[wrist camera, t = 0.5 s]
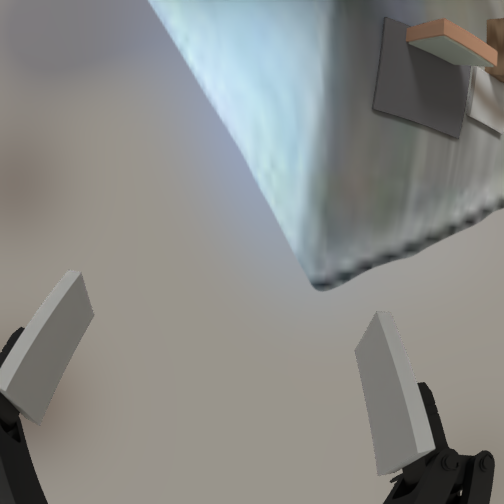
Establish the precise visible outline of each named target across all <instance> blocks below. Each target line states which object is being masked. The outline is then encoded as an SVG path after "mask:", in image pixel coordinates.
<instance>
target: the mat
mask: <svg viewBox="0 0 504 504" xmlns="http://www.w3.org/2000/svg"><path fill="white" fill-rule="evenodd" d="M409 27H410V26H408V25H406V24H403V23H401V22H398V21H395V20H393V19H390V18H387V17H385V18H384V24H383V34H382V44H381V52H380V60H379V68H378V75H377V81H376V88H375V94H374V100H373V106H372V109H376V110H379V111H383V112H386V113H389V114H393V115H396V116H399V117H402V118H405V119H408V120H411V121H414V122H417V123H420V124H422V125H425V126H428V127H431V128H433V129H436V130H438V131H441V132H443V133H446V134H448V135H451V136H453V137H455V138H458V139H459V135H460V131H461V126H462V121H463V116H464V111H465V105H466V99H467V93H468V86H469V78H470V69H471V66H470V65H453V64H451V63H449V62H447V61H445V60H443V59H441V58H439V57H437V56H435V55H433V54H431V53H429V52H427V51H424V50H422V49H420V48H417V47H415V46H413V45H410V44H409V42H406V33H407V28H409Z"/></svg>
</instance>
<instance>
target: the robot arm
mask: <svg viewBox="0 0 504 504" xmlns="http://www.w3.org/2000/svg"><path fill="white" fill-rule="evenodd" d="M93 317H94V313H93V310H92V307H91V304H90V300H89V297H88V294H87V290H86V287H85V283H84V280H83V276H82V273H81V272H78V271H73V270H68V271H67V272H66V274H65V275H64V276H63V277H62V279H61V280H60V281H59V282H58V284H57V285H56V286H55V288H54V289H53V290H52V291H51V293H50V294H49V295H48V297H47V298H46V299H45V301H44V302H43V304H42V305H41V306H40V308H39V309H38V311H37V312H36V313H35V315H34V316H33V318H32V319H31V320H30V322H29V324H28V325H27V326H26V328H22V327H20V328H19V329H18V330H17V331H15V332H14V333H13V334H12V335H11V337H10V338H9V340H8V341H7V344H6V345H5V346H4V348H3V349H2V352H1V353H0V504H48V503H47V500H46V498H45V496H44V493H43V491H42V489H41V486H40V483H39V480H38V478H37V475H36V472H35V470H34V466H33V463H32V460H31V457H30V454H29V450H28V447H27V444H26V440H25V436H24V432H23V428H22V424H21V420H20V418H19V413H21V414H22V415H23V416H24V417H25V418H26V419H28V420H30V421H32V422H34V423H36V424H37V425H39V426H40V424H41V422H42V419H43V417H44V415H45V412H46V410H47V408H48V405H49V403H50V401H51V399H52V396H53V394H54V392H55V390H56V388H57V385H58V383H59V381H60V379H61V377H62V375H63V373H64V371H65V369H66V367H67V365H68V363H69V361H70V359H71V357H72V355H73V353H74V351H75V350H76V348H77V346H78V344H79V342H80V340H81V338H82V336H83V335H84V333H85V331H86V329H87V327H88V326H89V324H90V322H91V320H92V319H93ZM355 354H356V359H357V363H358V367H359V372H360V377H361V381H362V386H363V390H364V396H365V401H366V406H367V411H368V416H369V422H370V427H371V433H372V439H373V446H374V452H375V459H376V466H377V474H378V476H381V475H386V474H391V473H395V472H397V471H398V470H400V469H402V470H403V473H402V474H400V475H398V476H396V477H395V478H393V479H392V480H391V481H390V482H391V483H392V482H395V481H397V482H396V483H395V484H394V487H393V489H392V490H391V492H390V494H389V495H388V497H387V498H386V500H385V501H384V503H383V504H489V502H490V497H491V491H492V483H493V476H494V467H495V462H494V458H493V455H492V454H491V453H490V452H489V451H481V452H480V453H478V454H477V455H475V456H468V455H459V454H458V453H457V452H456V451H455V450H454V449H450V448H449V447H448V444H447V442H446V438H445V434H444V430H443V427H442V423H441V420H440V416H439V414H438V413H437V412H438V410H437V407H436V405H435V400H434V397H433V395H432V392H431V390H430V389H429V388H428V386H427V385H426V383H425V382H423V383H417V381H416V378H415V375H414V372H413V369H412V367H411V364H410V361H409V358H408V355H407V353H406V350H405V347H404V344H403V342H402V339H401V337H400V334H399V331H398V329H397V326H396V324H395V321H394V319H393V316H392V314H391V313H390V312H378V311H377V312H376V313H375V315H374V317H373V319H372V321H371V323H370V324H369V326H368V328H367V330H366V332H365V333H364V335H363V337H362V339H361V341H360V342H359V344H358V346H357V347H356V349H355ZM461 490H462V495H461V496H460V491H461Z"/></svg>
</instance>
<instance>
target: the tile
mask: <svg viewBox="0 0 504 504" xmlns="http://www.w3.org/2000/svg"><path fill="white" fill-rule="evenodd" d="M406 42H409V44H410V45H413V46H415V47H417V48H420V49H422V50H424V51H427V52H429V53H431V54H433V55H435V56H437V57H439V58H441V59H443V60H445V61H447V62H449V63H451V64H453V65H470V66H485V67H493V66H497V55H498V52H497V51H496V50H495V49H493V48H492V47H491V46H489V45H488V44H486V43H485V42H483V41H482V40H480V39H479V38H477V37H476V36H474V35H473V34H471V33H469V32H468V31H466V30H464V29H463V28H461V27H459V26H458V25H456V24H454V23H452V22H451V21H449V20H447V19H445V18H443V19H439V20H435V21H431V22H427V23H423V24H420V25H416V26H413V27H409V28H407V33H406Z"/></svg>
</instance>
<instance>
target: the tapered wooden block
mask: <svg viewBox="0 0 504 504" xmlns="http://www.w3.org/2000/svg"><path fill="white" fill-rule="evenodd" d="M487 44H488V45H489V46H491V47H492V48H493V49H495V50H496V51H497V52H498V55H497V66H493V67H485V71H484V70H482V69H480V68H479V67H477V66H473V73H472V82H471V89H470V96H469V102H468V108H467V114H466V115H468V116H470V117H472V118H473V119H475V120H477V121H479V122H481V123H483V124H485V125H486V126H488V127H490V128H492V129H493V130H495V131H497V132H499V133H501V134H503V131H504V84H503V83H504V18H501V19H489V20H487ZM501 82H503V83H501Z"/></svg>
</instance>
